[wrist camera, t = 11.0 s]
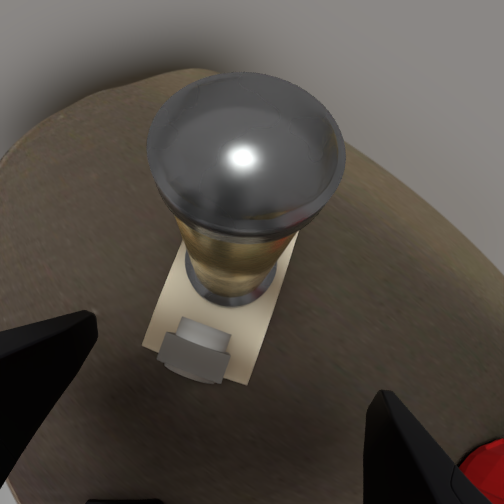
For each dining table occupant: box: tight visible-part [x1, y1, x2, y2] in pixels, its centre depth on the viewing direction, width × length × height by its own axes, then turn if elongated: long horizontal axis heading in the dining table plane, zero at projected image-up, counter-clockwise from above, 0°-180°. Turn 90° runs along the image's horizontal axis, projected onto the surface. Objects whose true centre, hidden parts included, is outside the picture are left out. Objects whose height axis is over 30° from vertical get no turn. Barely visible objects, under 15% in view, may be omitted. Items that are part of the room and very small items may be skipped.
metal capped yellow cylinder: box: [147, 72, 346, 308], centre depth 13 cm, size 6×6×13 cm
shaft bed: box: [142, 231, 299, 385], centre depth 18 cm, size 15×7×4 cm, turn 161°
